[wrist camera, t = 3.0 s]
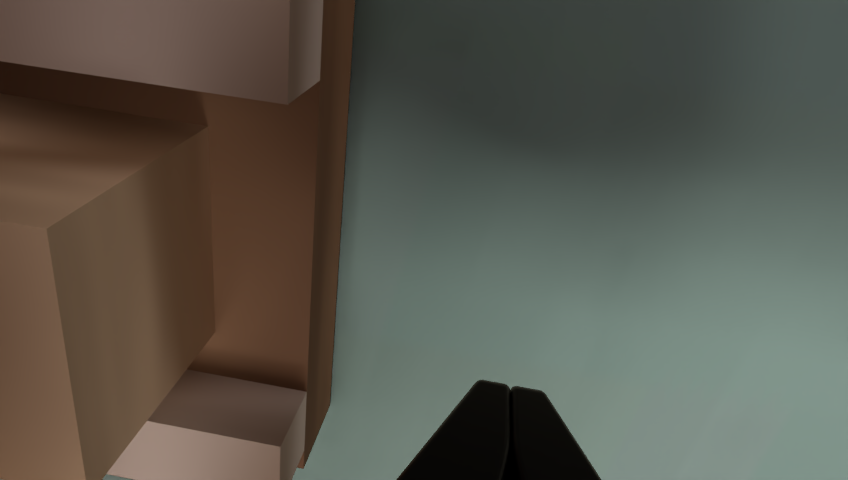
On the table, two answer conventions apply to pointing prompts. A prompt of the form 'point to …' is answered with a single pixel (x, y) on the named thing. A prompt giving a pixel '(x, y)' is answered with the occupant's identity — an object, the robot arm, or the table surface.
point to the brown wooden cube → (96, 279)
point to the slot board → (225, 200)
